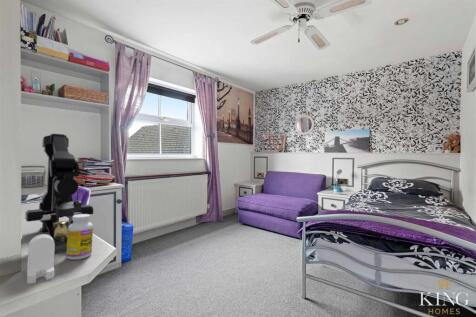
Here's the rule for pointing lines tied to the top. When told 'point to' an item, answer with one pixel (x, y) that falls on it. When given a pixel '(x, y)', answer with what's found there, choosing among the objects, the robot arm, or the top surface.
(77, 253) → the supplement bottle
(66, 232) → the gold rounded cylinder
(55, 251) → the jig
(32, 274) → the cable organizer
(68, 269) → the top surface
